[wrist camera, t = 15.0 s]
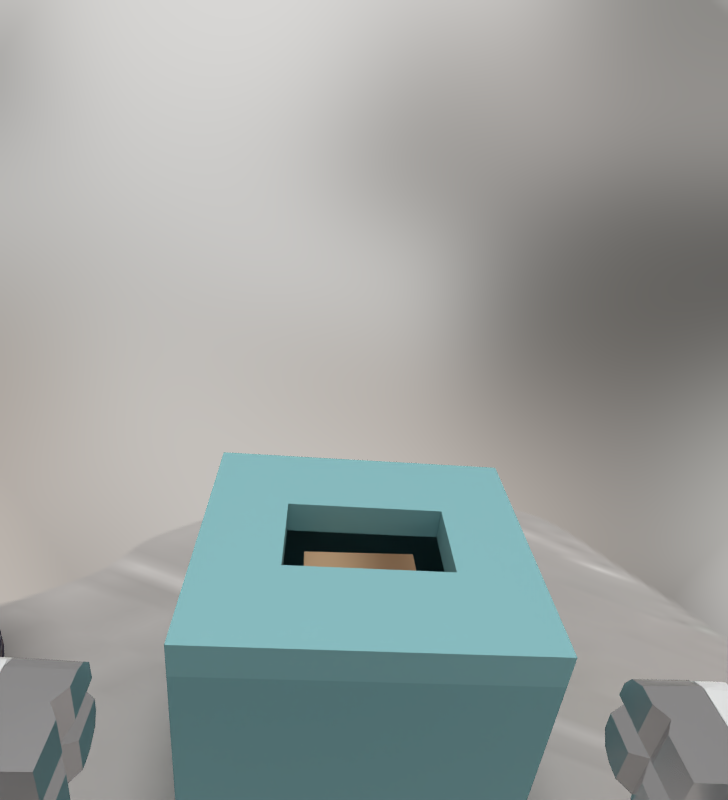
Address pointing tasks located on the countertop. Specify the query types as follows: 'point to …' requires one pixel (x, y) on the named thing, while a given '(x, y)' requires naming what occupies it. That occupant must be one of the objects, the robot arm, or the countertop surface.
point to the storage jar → (1, 646)
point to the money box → (361, 638)
